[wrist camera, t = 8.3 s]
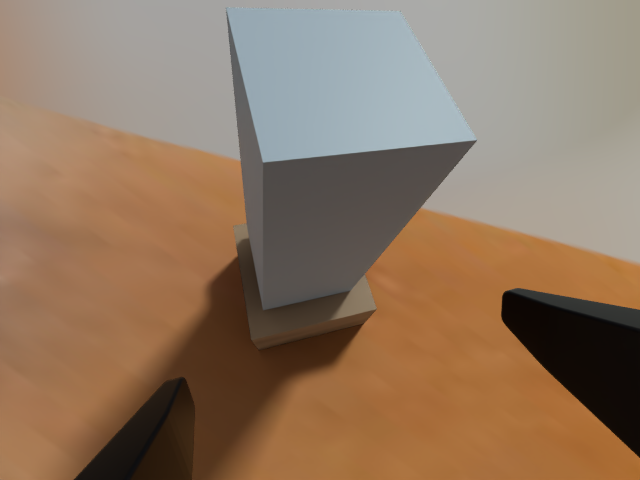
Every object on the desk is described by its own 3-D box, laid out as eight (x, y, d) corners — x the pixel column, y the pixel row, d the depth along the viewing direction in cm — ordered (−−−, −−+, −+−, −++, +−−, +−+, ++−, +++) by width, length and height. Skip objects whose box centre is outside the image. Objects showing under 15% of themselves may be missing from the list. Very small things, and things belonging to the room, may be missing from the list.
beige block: (363, 324, 21) (376, 309, 18) (259, 350, 20) (251, 340, 16) (334, 234, 24) (341, 205, 21) (243, 252, 23) (233, 225, 19)
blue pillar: (350, 290, 18) (477, 140, 7) (263, 310, 17) (262, 162, 6) (327, 215, 20) (400, 11, 9) (247, 228, 19) (226, 7, 8)
